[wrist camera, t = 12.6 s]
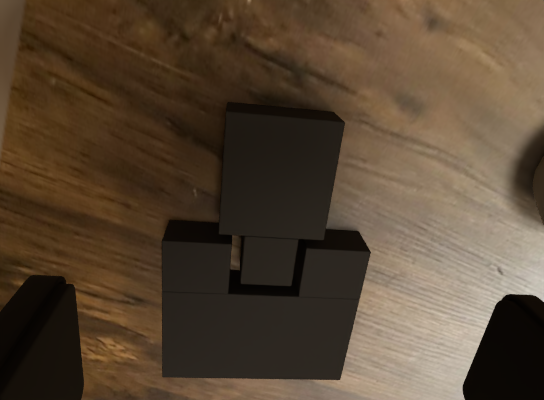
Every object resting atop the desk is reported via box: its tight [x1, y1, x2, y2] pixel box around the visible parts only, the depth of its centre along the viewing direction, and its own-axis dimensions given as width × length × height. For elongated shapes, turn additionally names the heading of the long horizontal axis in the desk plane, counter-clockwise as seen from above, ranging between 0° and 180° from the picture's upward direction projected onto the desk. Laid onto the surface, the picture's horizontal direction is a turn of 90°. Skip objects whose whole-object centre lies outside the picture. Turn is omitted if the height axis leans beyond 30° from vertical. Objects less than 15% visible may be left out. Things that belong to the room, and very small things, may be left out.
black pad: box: [219, 102, 345, 286], centre depth 26 cm, size 7×12×3 cm, turn 174°
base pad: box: [162, 220, 371, 380], centre depth 30 cm, size 14×12×3 cm
